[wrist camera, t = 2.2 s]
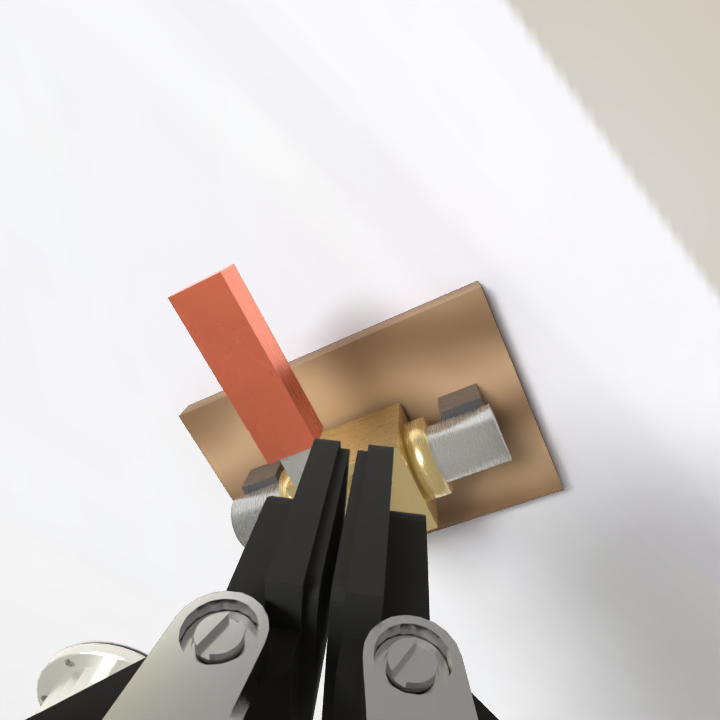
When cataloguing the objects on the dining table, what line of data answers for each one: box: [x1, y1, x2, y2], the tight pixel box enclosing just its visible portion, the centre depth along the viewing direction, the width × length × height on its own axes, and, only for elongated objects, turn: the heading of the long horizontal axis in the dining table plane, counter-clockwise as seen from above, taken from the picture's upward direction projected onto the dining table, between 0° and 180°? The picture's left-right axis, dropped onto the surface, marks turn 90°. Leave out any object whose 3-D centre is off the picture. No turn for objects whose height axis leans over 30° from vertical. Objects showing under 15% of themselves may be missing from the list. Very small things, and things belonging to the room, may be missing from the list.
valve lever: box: [168, 264, 349, 514], centre depth 22 cm, size 15×3×2 cm, turn 26°
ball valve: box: [231, 383, 512, 547], centre depth 29 cm, size 5×16×8 cm, turn 116°
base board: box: [179, 281, 564, 534], centre depth 33 cm, size 14×20×2 cm
